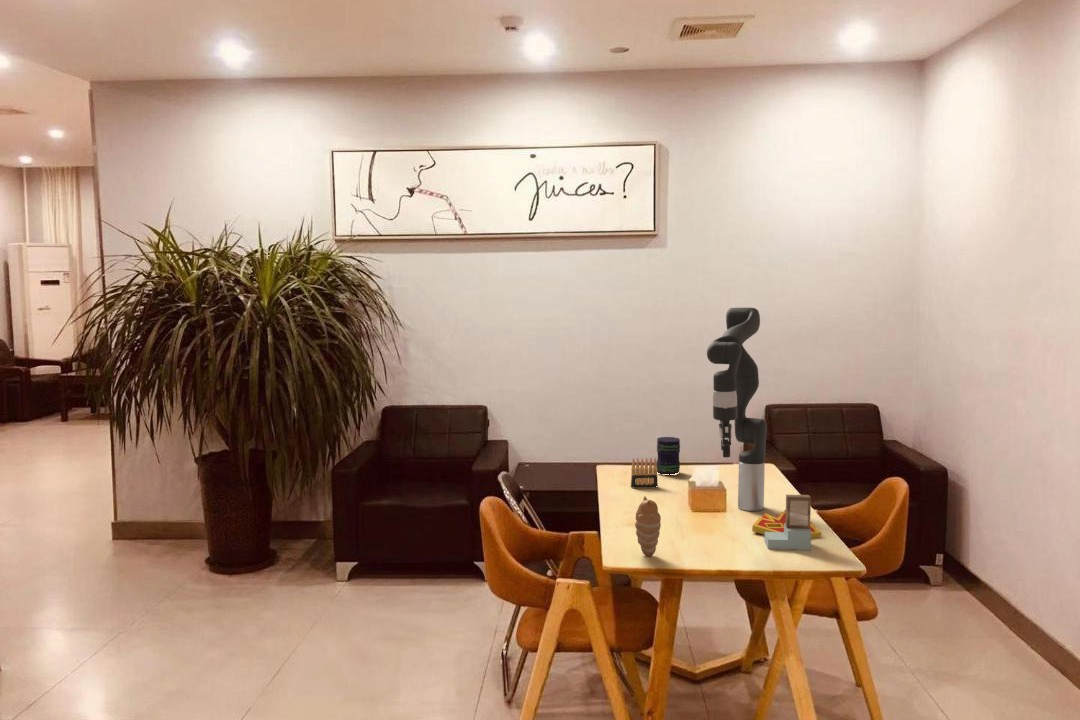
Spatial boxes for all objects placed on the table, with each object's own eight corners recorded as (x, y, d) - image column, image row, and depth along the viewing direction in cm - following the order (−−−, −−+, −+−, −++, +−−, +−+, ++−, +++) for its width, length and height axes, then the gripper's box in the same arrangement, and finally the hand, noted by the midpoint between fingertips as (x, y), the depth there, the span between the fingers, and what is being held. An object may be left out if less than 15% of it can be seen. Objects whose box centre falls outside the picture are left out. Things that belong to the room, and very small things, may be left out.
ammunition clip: (631, 487, 344) (631, 458, 343) (630, 486, 346) (630, 457, 345) (657, 487, 345) (658, 458, 344) (656, 486, 347) (657, 457, 345)
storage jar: (668, 469, 376) (668, 436, 374) (684, 473, 368) (685, 439, 366) (651, 472, 370) (652, 438, 368) (667, 477, 362) (668, 442, 360)
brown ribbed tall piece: (631, 552, 265) (631, 495, 263) (655, 550, 266) (655, 493, 265) (640, 561, 256) (641, 502, 254) (665, 559, 258) (666, 501, 256)
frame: (785, 525, 271) (786, 494, 270) (808, 526, 271) (808, 495, 270) (787, 528, 268) (787, 497, 267) (810, 529, 267) (810, 497, 266)
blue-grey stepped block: (764, 540, 275) (764, 522, 275) (806, 542, 273) (806, 523, 273) (767, 548, 267) (768, 530, 267) (810, 550, 266) (811, 531, 265)
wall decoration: (823, 517, 301) (824, 505, 300) (820, 545, 272) (820, 531, 272) (760, 513, 308) (760, 501, 308) (750, 540, 280) (750, 526, 279)
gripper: (711, 400, 280) (712, 448, 283) (714, 408, 266) (714, 459, 269) (735, 399, 279) (735, 448, 281) (738, 408, 265) (739, 459, 268)
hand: (725, 453), depth 275 cm, fingers open, 8 cm apart
